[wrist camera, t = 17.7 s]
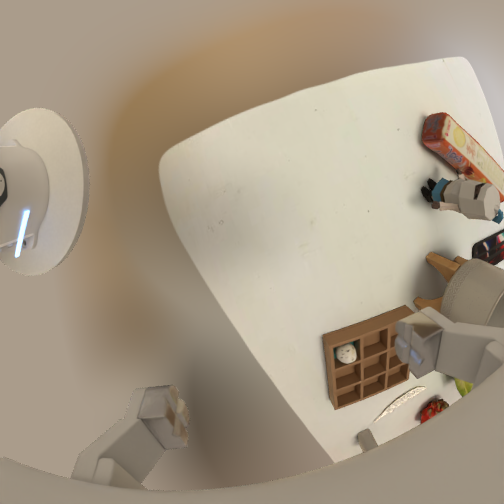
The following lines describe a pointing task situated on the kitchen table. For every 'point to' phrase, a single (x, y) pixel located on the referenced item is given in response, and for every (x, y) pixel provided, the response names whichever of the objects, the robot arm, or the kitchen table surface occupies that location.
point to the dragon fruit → (433, 409)
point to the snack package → (461, 151)
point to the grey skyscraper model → (366, 440)
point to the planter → (468, 291)
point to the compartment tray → (365, 359)
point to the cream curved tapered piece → (402, 400)
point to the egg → (346, 353)
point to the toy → (465, 198)
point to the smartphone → (490, 249)
